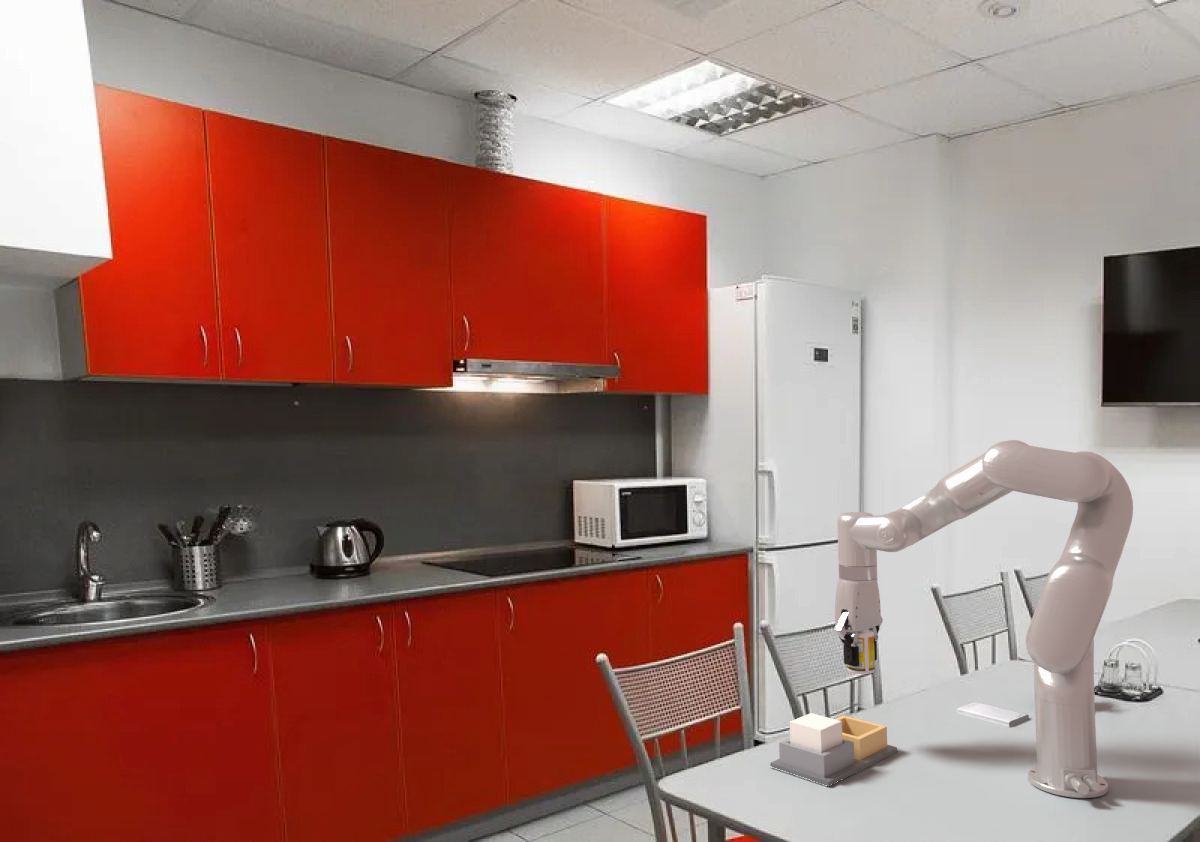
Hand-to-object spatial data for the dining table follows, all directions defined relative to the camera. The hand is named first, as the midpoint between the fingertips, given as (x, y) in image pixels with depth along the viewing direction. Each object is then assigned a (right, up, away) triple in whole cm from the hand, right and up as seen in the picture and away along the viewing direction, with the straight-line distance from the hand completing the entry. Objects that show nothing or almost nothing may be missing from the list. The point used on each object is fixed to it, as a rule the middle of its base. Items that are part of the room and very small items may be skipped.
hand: (860, 661), depth 175 cm
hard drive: (+35, -18, +17) cm, 42 cm away
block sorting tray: (-7, -18, -6) cm, 20 cm away
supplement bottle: (0, -2, 0) cm, 2 cm away
